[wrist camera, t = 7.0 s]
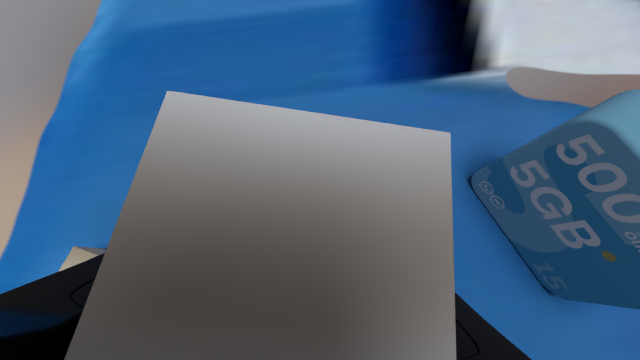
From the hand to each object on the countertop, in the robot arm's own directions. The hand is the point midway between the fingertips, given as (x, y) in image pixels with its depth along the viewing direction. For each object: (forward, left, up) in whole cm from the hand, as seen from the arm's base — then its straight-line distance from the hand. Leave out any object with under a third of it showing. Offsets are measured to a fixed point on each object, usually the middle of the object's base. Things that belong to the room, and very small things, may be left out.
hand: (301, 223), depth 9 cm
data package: (+8, -18, -14) cm, 24 cm away
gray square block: (-1, 0, -7) cm, 7 cm away
